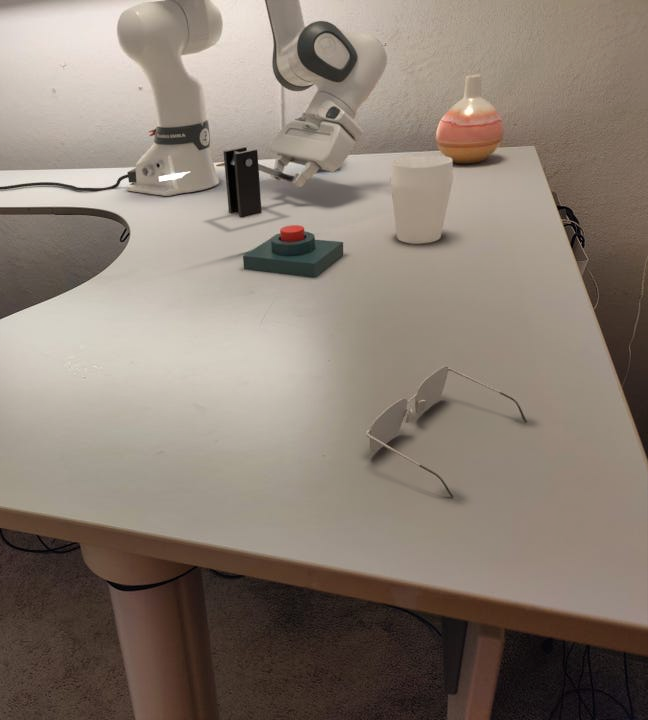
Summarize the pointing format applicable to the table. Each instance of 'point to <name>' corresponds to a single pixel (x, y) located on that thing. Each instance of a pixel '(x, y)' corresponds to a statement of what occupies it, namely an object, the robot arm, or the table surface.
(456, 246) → the table surface
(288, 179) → the lever
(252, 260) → the button box
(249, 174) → the bracket
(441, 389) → the eyeglasses
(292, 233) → the button
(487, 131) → the vase
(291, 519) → the table surface
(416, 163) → the cup
